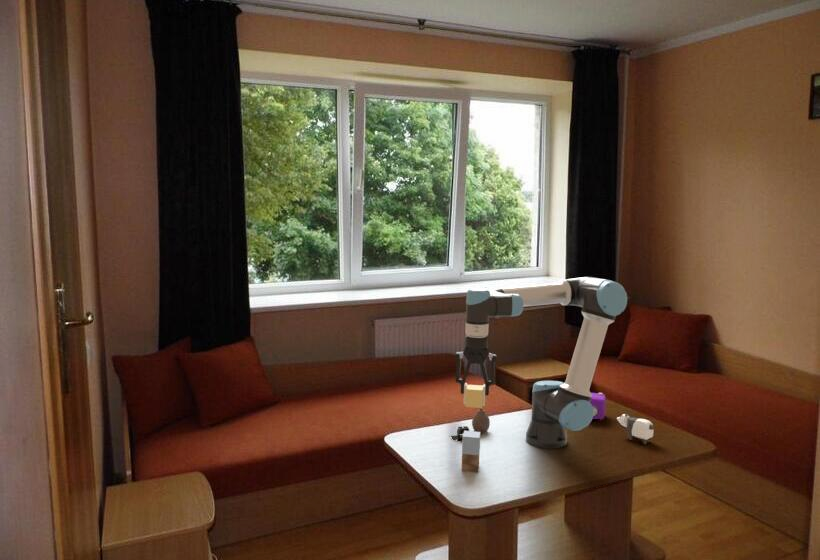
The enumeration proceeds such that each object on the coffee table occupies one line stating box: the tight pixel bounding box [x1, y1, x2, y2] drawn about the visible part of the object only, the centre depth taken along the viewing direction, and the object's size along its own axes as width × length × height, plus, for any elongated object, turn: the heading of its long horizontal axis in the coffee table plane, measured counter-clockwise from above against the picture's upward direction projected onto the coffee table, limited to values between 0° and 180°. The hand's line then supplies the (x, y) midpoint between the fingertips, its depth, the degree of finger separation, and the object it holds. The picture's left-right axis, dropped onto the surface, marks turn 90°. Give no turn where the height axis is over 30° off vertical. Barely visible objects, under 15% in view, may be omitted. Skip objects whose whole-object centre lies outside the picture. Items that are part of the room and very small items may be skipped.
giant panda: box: [616, 412, 655, 442], centre depth 237 cm, size 15×6×10 cm, turn 43°
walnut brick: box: [461, 450, 481, 473], centre depth 208 cm, size 6×6×6 cm
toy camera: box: [590, 392, 607, 420], centre depth 260 cm, size 11×14×10 cm
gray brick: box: [461, 430, 481, 456], centre depth 207 cm, size 6×6×6 cm
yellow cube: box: [464, 384, 483, 409], centre depth 205 cm, size 6×6×6 cm
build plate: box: [450, 426, 470, 442], centre depth 235 cm, size 12×7×5 cm, turn 101°
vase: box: [471, 408, 491, 434], centre depth 242 cm, size 7×7×9 cm
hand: (474, 403), depth 205 cm, fingers closed on yellow cube, 5 cm apart
